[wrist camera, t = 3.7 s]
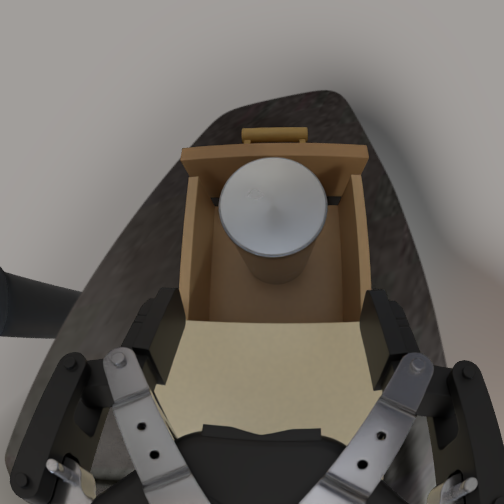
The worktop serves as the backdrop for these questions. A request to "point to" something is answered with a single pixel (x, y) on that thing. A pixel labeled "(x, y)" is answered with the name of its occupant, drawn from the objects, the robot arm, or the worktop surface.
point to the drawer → (322, 256)
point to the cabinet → (269, 378)
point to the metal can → (273, 216)
